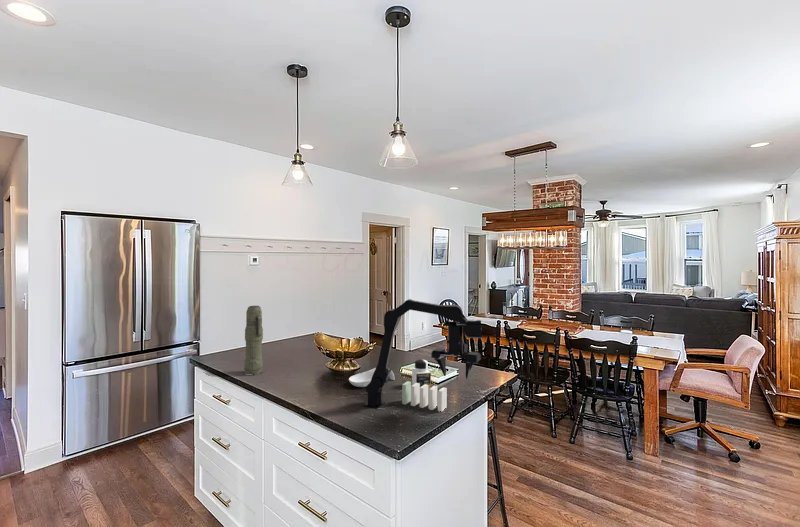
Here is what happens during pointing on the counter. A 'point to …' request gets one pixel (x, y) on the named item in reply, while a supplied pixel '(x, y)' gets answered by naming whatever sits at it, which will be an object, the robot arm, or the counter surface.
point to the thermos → (253, 340)
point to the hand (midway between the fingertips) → (455, 377)
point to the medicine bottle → (421, 373)
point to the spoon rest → (365, 378)
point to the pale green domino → (406, 392)
